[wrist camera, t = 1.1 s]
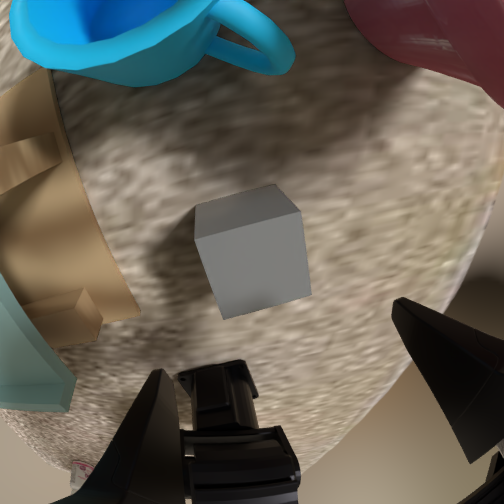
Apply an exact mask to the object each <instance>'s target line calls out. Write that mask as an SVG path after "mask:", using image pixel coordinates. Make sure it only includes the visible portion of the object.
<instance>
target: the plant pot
mask: <svg viewBox="0 0 504 504" xmlns="http://www.w3.org/2000/svg"><path fill="white" fill-rule="evenodd" d="M344 3H345V6H346V8H347V11H348V13H349V15H350V17H351V19H352V21H353V22H354V24H355V25H356V27H357V28H358V30H359V31H360V32H361V33H362V35H363V36H364V37H365V38H366V39H367V40H368V41H369V42H370V43H371V44H372V45H373V46H375V47H376V48H377V49H378V50H379V51H381V52H382V53H384V54H385V55H387V56H389V57H390V58H392V59H394V60H396V61H399V62H402V63H405V64H409V65H413V66H417V67H421V68H425V69H429V70H432V71H435V72H439V73H442V74H445V75H448V76H451V77H454V78H457V79H460V80H463V81H466V82H469V83H471V84H474V85H477V86H480V87H481V88H482V89H483V90H484V91H485V92H486V93H487V94H488V95H489V96H490V97H491V98H492V99H493V100H494V101H495V102H496V103H497V104H498V105H499V106H501V107H502V108H503V109H504V0H344Z"/></svg>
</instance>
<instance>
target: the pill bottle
mask: <svg viewBox="0 0 504 504" xmlns="http://www.w3.org/2000/svg"><path fill="white" fill-rule="evenodd" d="M93 469H94V467H93V466H92V465H90V464H88V463H85V462H82V461H73V463H72V471H71V480H70V486H71V488H72V489H73V490H72V491H71V495H72V494H74V493H75V492H76V491H78V490H79V489H80V487H81V486H82V485H83V484H84V482H85V481H86V479H87V478H88V476H89V475H90V474H91V472H92V471H93Z"/></svg>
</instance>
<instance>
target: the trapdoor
mask: <svg viewBox="0 0 504 504" xmlns="http://www.w3.org/2000/svg"><path fill="white" fill-rule="evenodd" d="M76 380H77V378H76V377H75V376H74V375H73V374H72V372H71V371H70V370H69V369H68V368H67V367H66V366H65V364H64V363H63V362H62V361H61V360H60V359H59V357H58V356H57V355H56V354H55V353H54V351H53V350H52V349H51V348H50V346H49V345H48V344H47V342H46V341H45V340H44V339H43V337H42V336H41V335H40V333H39V332H38V331H37V329H36V328H35V326H34V325H33V324H32V322H31V321H30V319H29V318H28V317H27V315H26V314H25V312H24V311H23V309H22V308H21V306H20V305H19V303H18V301H17V300H16V298H15V297H14V295H13V293H12V292H11V290H10V288H9V287H8V285H7V283H6V282H5V280H4V278H3V276H2V275H1V273H0V408H3V409H12V410H23V411H39V412H69V407H70V403H71V399H72V395H73V391H74V388H75V384H76Z"/></svg>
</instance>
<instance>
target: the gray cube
mask: <svg viewBox="0 0 504 504" xmlns="http://www.w3.org/2000/svg"><path fill="white" fill-rule="evenodd" d="M194 240H195V243H196V246H197V249H198V252H199V255H200V258H201V261H202V263H203V266H204V269H205V272H206V275H207V277H208V280H209V283H210V286H211V288H212V291H213V294H214V296H215V299H216V302H217V304H218V307H219V310H220V312H221V315H222V317H223V320H225V319H229V318H233V317H236V316H240V315H244V314H248V313H251V312H255V311H259V310H262V309H266V308H269V307H273V306H276V305H280V304H283V303H287V302H290V301H293V300H297V299H300V298H303V297H307V296H310V295H312V294H311V285H310V276H309V268H308V260H307V252H306V244H305V237H304V230H303V223H302V216H301V211H300V210H299V209H298V208H297V207H296V206H295V204H294V203H293V202H292V201H291V200H290V199H289V198H288V197H287V196H286V195H285V194H284V193H283V192H282V191H281V190H280V189H279V188H278V187H277V186H276V184H273V185H269V186H265V187H261V188H257V189H253V190H249V191H245V192H241V193H237V194H234V195H230V196H226V197H222V198H219V199H215V200H212V201H208V202H204V203H201V204H197V205H196V210H195V233H194Z"/></svg>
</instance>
